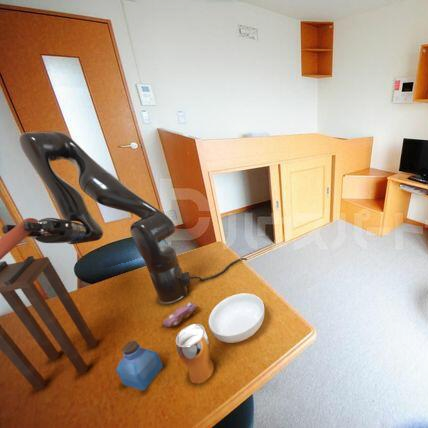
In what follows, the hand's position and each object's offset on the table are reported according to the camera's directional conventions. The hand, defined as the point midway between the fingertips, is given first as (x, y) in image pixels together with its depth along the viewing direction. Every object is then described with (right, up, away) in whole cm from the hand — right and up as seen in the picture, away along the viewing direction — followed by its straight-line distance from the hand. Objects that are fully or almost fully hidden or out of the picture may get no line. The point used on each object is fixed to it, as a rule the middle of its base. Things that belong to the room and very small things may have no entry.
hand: (16, 227), depth 58 cm
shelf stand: (+4, -39, +9) cm, 40 cm away
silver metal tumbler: (+42, -41, +7) cm, 59 cm away
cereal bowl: (+48, -34, +20) cm, 63 cm away
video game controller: (+28, -33, +23) cm, 49 cm away
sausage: (+2, -4, -2) cm, 5 cm away
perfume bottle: (+27, -41, +6) cm, 49 cm away
